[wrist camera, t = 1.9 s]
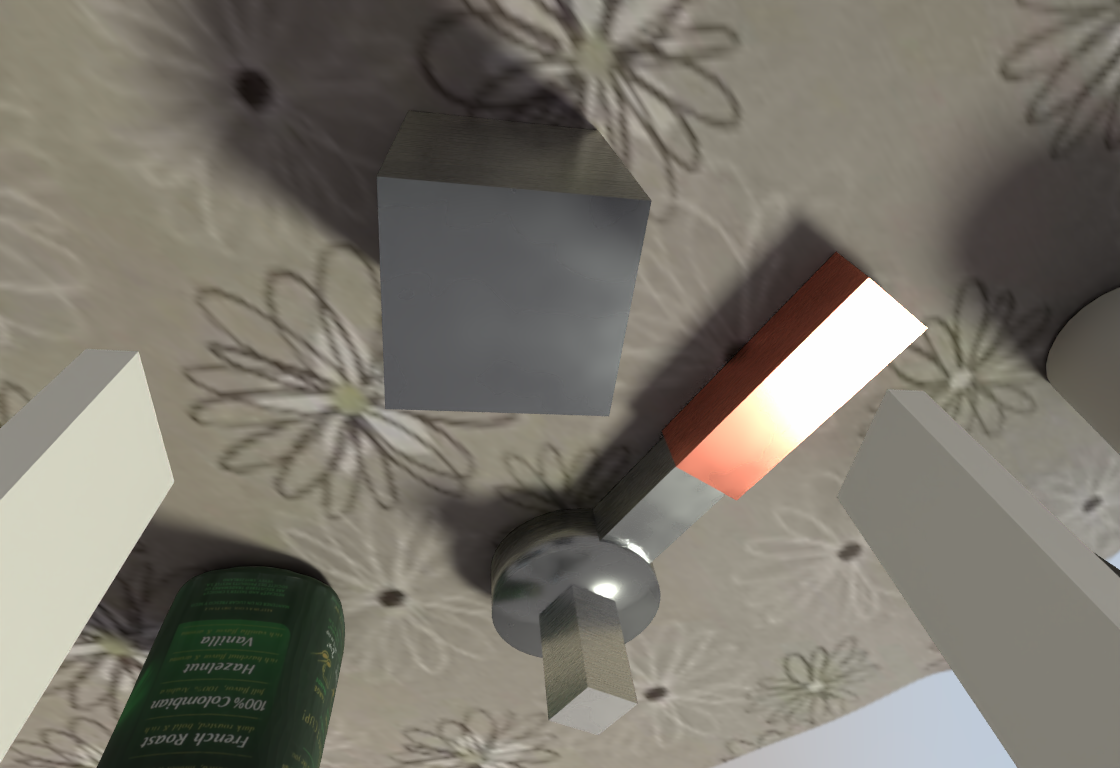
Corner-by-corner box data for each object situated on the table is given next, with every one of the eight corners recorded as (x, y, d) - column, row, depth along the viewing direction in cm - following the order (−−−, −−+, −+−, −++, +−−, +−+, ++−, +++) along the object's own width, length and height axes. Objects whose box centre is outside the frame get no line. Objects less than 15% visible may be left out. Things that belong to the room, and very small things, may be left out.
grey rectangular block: (410, 288, 23) (385, 408, 16) (408, 110, 20) (376, 176, 13) (574, 298, 24) (608, 415, 17) (598, 130, 20) (651, 200, 14)
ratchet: (583, 633, 35) (607, 777, 29) (459, 587, 32) (455, 738, 25) (922, 327, 26) (1062, 438, 20) (798, 219, 23) (918, 312, 17)
